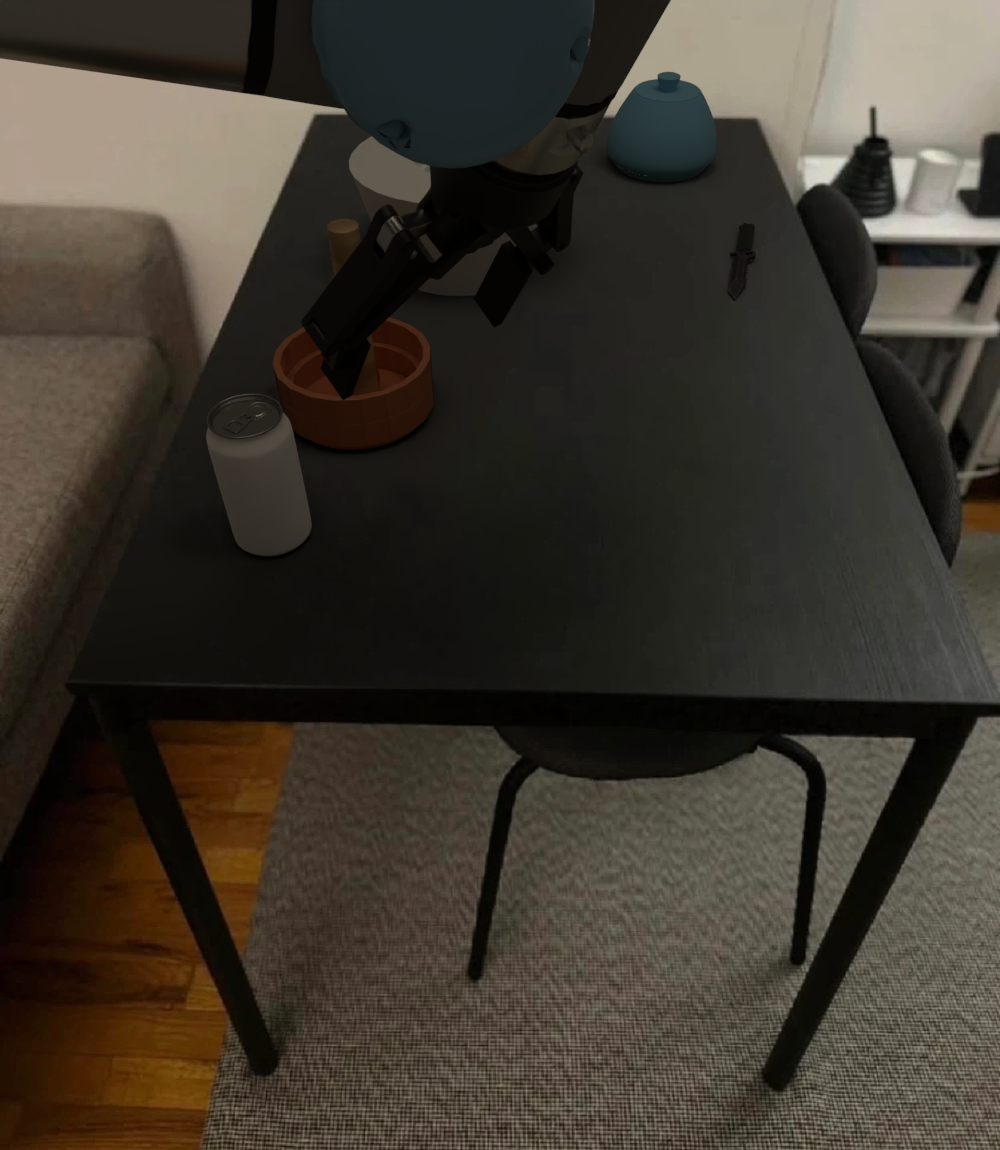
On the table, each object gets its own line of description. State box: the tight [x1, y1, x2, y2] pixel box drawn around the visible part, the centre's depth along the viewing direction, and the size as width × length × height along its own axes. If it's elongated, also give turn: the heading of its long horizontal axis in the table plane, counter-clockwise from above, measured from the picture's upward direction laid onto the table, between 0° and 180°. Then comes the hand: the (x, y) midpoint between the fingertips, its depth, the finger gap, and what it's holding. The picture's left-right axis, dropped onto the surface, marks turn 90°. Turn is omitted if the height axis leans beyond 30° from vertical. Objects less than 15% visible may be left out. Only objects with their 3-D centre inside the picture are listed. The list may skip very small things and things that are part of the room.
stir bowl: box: [272, 316, 434, 451], centre depth 89 cm, size 14×14×6 cm
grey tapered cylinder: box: [348, 135, 538, 297], centre depth 107 cm, size 24×24×12 cm
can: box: [205, 393, 313, 558], centre depth 74 cm, size 6×6×12 cm
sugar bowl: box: [606, 71, 718, 183], centre depth 127 cm, size 15×15×12 cm
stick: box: [326, 218, 379, 396], centre depth 83 cm, size 3×3×18 cm
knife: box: [727, 222, 757, 300], centre depth 110 cm, size 18×1×3 cm
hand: (415, 345), depth 67 cm, fingers open, 13 cm apart
